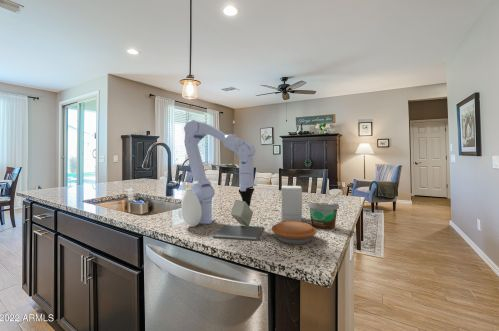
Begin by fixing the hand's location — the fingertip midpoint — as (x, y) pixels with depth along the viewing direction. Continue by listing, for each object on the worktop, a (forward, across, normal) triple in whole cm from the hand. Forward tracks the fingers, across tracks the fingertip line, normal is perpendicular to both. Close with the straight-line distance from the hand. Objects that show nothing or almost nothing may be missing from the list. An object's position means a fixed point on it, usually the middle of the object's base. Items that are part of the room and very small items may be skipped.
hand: (246, 206), depth 98 cm
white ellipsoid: (+8, -4, +21) cm, 23 cm away
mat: (+8, -8, +1) cm, 11 cm away
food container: (+9, +4, -30) cm, 31 cm away
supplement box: (+9, +15, -18) cm, 25 cm away
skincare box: (+6, +2, 0) cm, 6 cm away
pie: (+9, -11, -19) cm, 23 cm away
